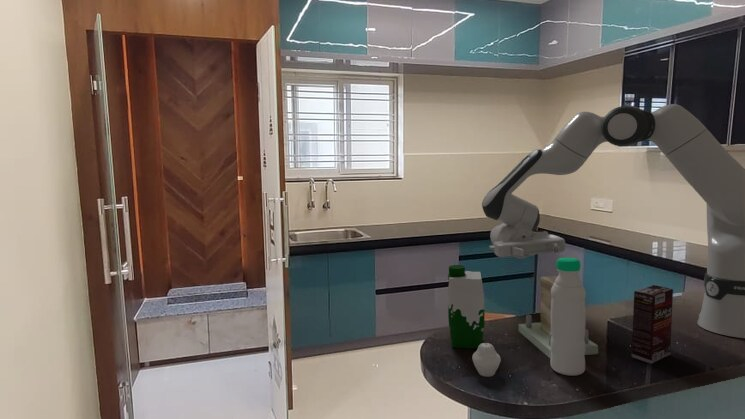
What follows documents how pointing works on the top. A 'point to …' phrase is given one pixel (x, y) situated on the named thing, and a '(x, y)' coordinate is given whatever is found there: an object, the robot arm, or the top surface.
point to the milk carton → (465, 307)
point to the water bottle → (568, 319)
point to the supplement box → (652, 323)
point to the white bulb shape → (486, 360)
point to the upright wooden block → (546, 302)
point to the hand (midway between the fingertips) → (541, 251)
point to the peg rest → (549, 337)
